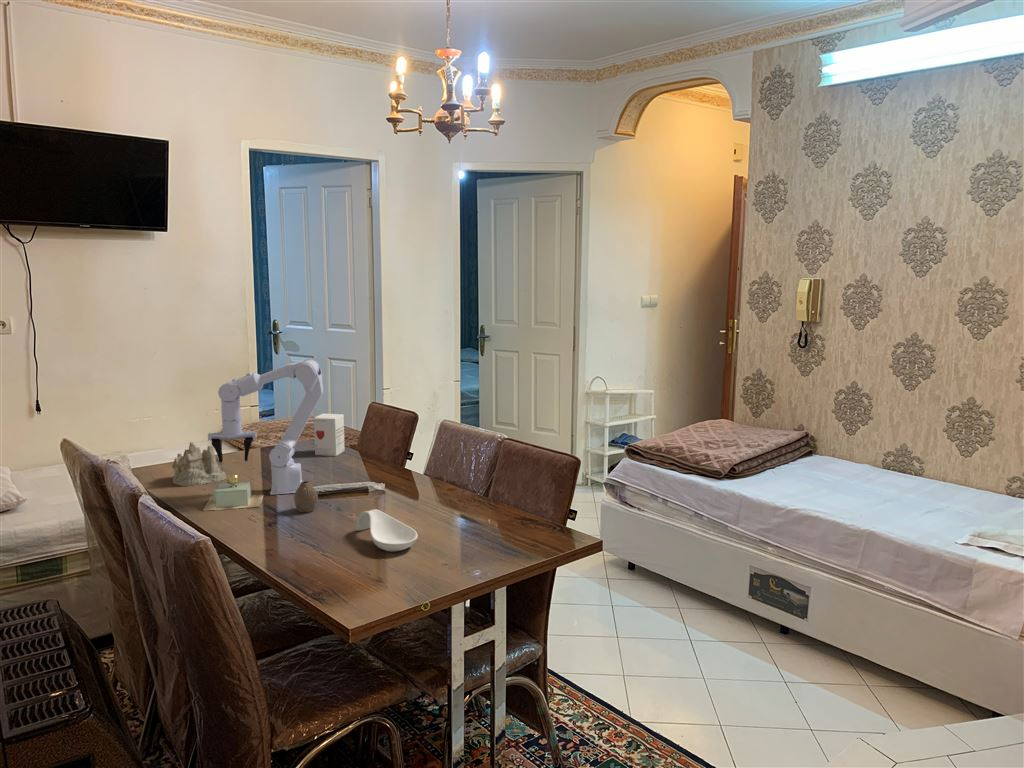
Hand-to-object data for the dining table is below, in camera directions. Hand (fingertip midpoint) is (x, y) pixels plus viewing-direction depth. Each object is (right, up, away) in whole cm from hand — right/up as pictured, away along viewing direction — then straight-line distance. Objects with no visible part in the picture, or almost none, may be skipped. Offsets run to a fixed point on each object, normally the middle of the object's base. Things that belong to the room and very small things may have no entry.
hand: (233, 460), depth 239 cm
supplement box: (+18, -3, +52) cm, 55 cm away
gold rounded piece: (+4, -11, -10) cm, 15 cm away
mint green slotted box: (+4, -12, -10) cm, 16 cm away
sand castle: (-18, -8, +16) cm, 25 cm away
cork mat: (+4, -12, -10) cm, 16 cm away
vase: (+28, -13, -16) cm, 35 cm away
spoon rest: (+55, -17, -42) cm, 71 cm away
